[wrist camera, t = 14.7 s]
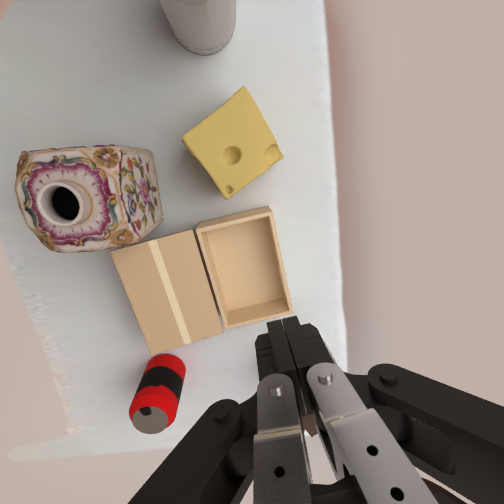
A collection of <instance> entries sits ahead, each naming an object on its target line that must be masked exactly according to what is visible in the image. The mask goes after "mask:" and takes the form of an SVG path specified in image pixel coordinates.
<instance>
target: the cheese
mask: <svg viewBox="0 0 504 504" xmlns="http://www.w3.org/2000/svg"><path fill="white" fill-rule="evenodd" d="M182 142H183V144H184V145H185V147H186V148H187V149H188V150H189V152H190V153H191V154H192V155H193V156H194V157H195V158H196V159H197V160H198V161H199V162H200V163H201V164H202V166H203V167H204V168H205V169H206V171H207V172H208V173H209V175H210V176H211V178H212V179H213V181H214V182H215V184H216V185H217V187H218V188H219V190H220V191H221V193H222V194H223V196H224V198H225V199H229V198H230V197H231V196H233V195H234V194H235V193H237V192H238V191H239V190H241V189H242V188H243V187H245V186H246V185H247V184H249V183H250V182H251V181H253V180H254V179H256V178H257V177H259V176H260V175H262V174H263V173H265V172H266V171H267V170H268V169H269V167H270V166H271V165H273V164H274V163H276V162H278V161H279V160H281V159H282V158H283V154H282V152H281V151H280V149H279V147H278V145H277V142H276V140H275V138H274V136H273V134H272V132H271V130H270V129H269V127H268V125H267V123H266V122H265V120H264V118H263V116H262V114H261V112H260V110H259V109H258V107H257V105H256V103H255V101H254V100H253V98H252V96H251V95H250V93H249V92H248V90H247V89H246V87H242V88H241V89H240V90H238V91H237V92H236V93H235V94H234V95H233V96H232V97H231V98H230V99H229V100H228V101H227V102H226V103H224V104H223V105H222V106H221V107H220V108H219V109H217V110H216V111H215V112H213V113H212V114H211V115H210V116H208V117H207V118H206V119H204V120H203V121H202V122H200V123H199V124H198V125H196V126H195V127H194V128H192V129H191V130H190V131H188V132H187V133H186V134H184V135H183V136H182Z"/></svg>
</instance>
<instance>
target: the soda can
mask: <svg viewBox="0 0 504 504" xmlns="http://www.w3.org/2000/svg"><path fill="white" fill-rule="evenodd" d="M185 372H186V369H185V365H184V363H183V362H182V361H181V360H180V359H179V358H178V357H176V356H173V355H169V354H162V355H158V356H156V357H154V358H152V359H151V360H150V362H149V363H148V365H147V367H146V370H145V372H144V375H143V377H142V379H141V382H140V384H139V387H138V389H137V391H136V394H135V396H134V399H133V401H132V403H131V406H130V408H129V416H130V419H131V421H132V422H133V425H134V427H135V428H136V429H137V430H139V431H140V432H143V433H146V434H156V433H159V432H161V431H163V430H164V429H165V428H167V427H169V426H170V425H171V424H172V423H173V422H174V420H175V417H176V413H177V409H178V404H179V400H180V395H181V391H182V386H183V382H184V377H185Z"/></svg>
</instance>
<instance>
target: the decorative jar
mask: <svg viewBox="0 0 504 504" xmlns="http://www.w3.org/2000/svg"><path fill="white" fill-rule="evenodd" d="M15 192H16V195H17V200H18V203H19V207H20V210H21V212H22V215H23V216H24V219H25V221H26V224H27V226H28V227H29V228H30V229H31V230H32V231H33V232H34V233H35V234H36V236H37V237H38V238H39V240H40V241H41V243H43V244H44V245H45V246H46V247H47V248H48V249H50V250H51V251H56V252H63V253H69V252H72V253H74V252H91V251H96V250H102V249H108V248H112V247H116V246H117V247H119V246H125V245H128V244H136V243H137V242H139V241H140V240H141V239H142V238H144V237H145V236H146V235H147V234H149V233H150V232H151V231H152V230H154V229H155V228H156V227H157V226H158V225H159V224H160V223H161V222H162V221H163V220H164V219H163V214H162V208H161V202H160V195H159V190H158V183H157V177H156V171H155V166H154V160H153V155H152V152H151V151H149V150H145V149H140V148H131V147H122V146H116V145H108V146H104V145H96V146H94V147H85V146H82V147H67V148H60V149H56V148H50V149H45V150H35V151H29V152H27V151H23V152H22V153H21V154H20V157H19V162H18V164H17V173H16V182H15Z"/></svg>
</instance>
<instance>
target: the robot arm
mask: <svg viewBox="0 0 504 504" xmlns="http://www.w3.org/2000/svg"><path fill="white" fill-rule="evenodd" d="M159 2H160V4H161V6H162V8H163V10H164V13H165V15H166V17H167V20H168V22H169V24H170V26H171V28H172V30H173V32H174V35H175V36H176V38H177V39H178V41H179V42H180V43H181V44H182V45H183V46H184V47H185V48H186V49H188V50H189V51H191V52H193V53H196V54H201V55H209V54H213V53H216V52H218V51H219V50H221V49H222V48H224V47H225V45H226V44H227V43H228V42H229V40H230V38H231V37H232V34H233V31H234V27H235V14H236V0H159ZM282 322H283V325H282ZM267 327H268V332H269V333H266V334H261V335H258V337H257V339H256V341H255V348H256V357H257V365H258V373H259V381H260V383H259V384H258V387H257V392H256V393H255V394H254V395H253V396H252V397H251V398H250V399H248V400H246V401H245V402H243V403H241V404H238V403H237V402H236V401H234V400H231V399H223V400H220V401H217V402H215V403H214V404H212V405H211V406H210V407H209V408H208V409H207V410H206V412H205V413H204V414H203V415H202V416H201V417H200V419H199V420H198V421H197V422H196V423H195V425H194V426H193V427H192V428H191V429H190V430H189V432H188V433H187V434H186V435H185V436H184V438H183V439H182V440H181V441H180V442H179V443H178V445H177V446H176V447H175V448H174V449H173V451H172V452H171V453H170V454H169V455H168V456H167V458H166V459H165V460H164V461H163V462H162V464H161V465H160V466H159V467H158V468H157V469H156V471H155V472H154V473H153V474H152V475H151V477H150V478H149V479H148V480H147V481H146V483H145V484H144V485H143V486H142V487H141V488H140V490H139V491H138V492H137V493H136V494H135V496H134V497H133V498H132V499H131V500H130V501H129V503H128V504H240V502H241V500H242V499H243V497H244V495H245V493H246V491H247V490H248V488H249V486H250V484H251V483H252V481H253V479H254V485H253V486H254V487H253V488H254V489H253V491H254V492H253V493H254V495H253V496H254V498H253V502H254V503H253V504H467V503H465V502H464V501H462V500H461V499H459V498H457V497H456V496H455V495H453V494H451V493H450V492H448V491H447V490H445V489H444V488H442V487H441V486H439V485H437V484H435V483H433V482H431V481H429V480H427V479H424V478H422V477H420V475H419V474H418V473H417V471H416V469H415V468H414V467H413V466H415V467H417V468H418V469H420V470H422V471H423V472H425V473H426V474H428V475H430V476H431V477H433V478H435V479H436V480H438V481H439V482H441V483H443V484H444V485H446V486H448V487H449V488H451V489H453V490H454V491H456V492H457V493H459V494H461V495H463V496H464V497H466V498H467V499H469V500H471V501H472V502H474V503H476V504H504V407H503V406H500V405H498V404H495V403H492V402H490V401H487V400H484V399H482V398H479V397H477V396H474V395H472V394H469V393H466V392H464V391H461V390H459V389H456V388H453V387H451V386H448V385H446V384H443V383H440V382H438V381H435V380H432V379H430V378H427V377H424V376H422V375H420V374H417V373H414V372H412V371H409V370H406V369H404V368H401V367H399V366H396V365H393V364H378V365H376V366H373V367H372V368H371V369H370V370H369V372H368V375H353V374H349V373H346V372H343V371H342V369H341V368H340V367H338V366H337V365H335V363H334V361H333V359H332V357H331V355H330V353H329V351H328V349H327V347H326V345H325V343H324V342H323V339H322V337H321V335H320V333H319V331H318V329H317V328H316V327H314V326H313V325H311V324H310V323H309V324H304V325H300V323H299V321H298V318H297V316H292V317H288V318H284V319H282V321H281V319H280V320H275V321H271V322H267ZM283 327H284V328H283ZM302 398H303V400H302ZM303 402H304V404H303ZM304 405H305V408H306V412H307V415H311V414H313V415H314V419H315V422H316V427H317V431H318V435H319V437H320V440H321V442H322V445H323V447H324V450H325V452H326V455H327V457H328V459H329V462H330V464H331V467H332V469H333V472H334V474H335V477H336V480H337V482H336V483H334V484H331V485H322V484H313V480H312V475H311V469H310V464H309V458H308V452H307V447H306V442H305V436H304V423H303V419H302V417H303V416H306V414H305V409H304Z"/></svg>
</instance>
